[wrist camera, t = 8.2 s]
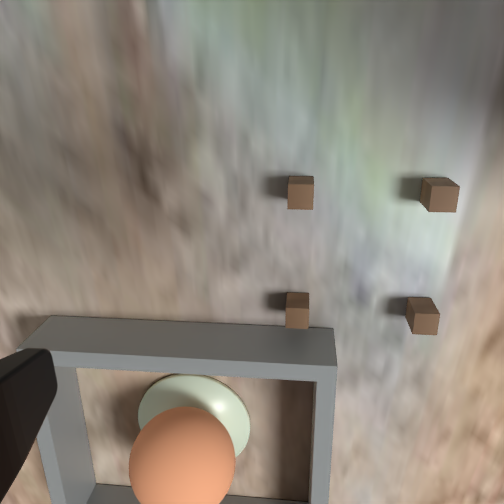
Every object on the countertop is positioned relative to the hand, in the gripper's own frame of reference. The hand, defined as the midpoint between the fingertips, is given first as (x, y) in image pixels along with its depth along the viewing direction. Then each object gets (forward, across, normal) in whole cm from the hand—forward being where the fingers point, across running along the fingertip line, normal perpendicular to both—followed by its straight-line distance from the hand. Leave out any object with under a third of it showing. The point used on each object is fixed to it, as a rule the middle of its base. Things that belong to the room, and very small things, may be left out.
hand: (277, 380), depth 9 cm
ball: (+12, +5, +12) cm, 17 cm away
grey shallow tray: (+12, +5, +12) cm, 18 cm away
